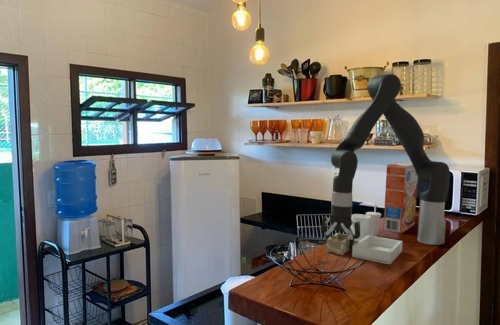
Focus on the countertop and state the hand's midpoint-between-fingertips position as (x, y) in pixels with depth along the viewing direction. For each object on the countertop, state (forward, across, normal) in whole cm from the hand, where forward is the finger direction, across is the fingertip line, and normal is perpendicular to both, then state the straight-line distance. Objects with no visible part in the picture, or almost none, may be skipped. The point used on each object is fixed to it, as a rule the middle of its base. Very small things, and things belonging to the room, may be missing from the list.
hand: (339, 246), depth 146 cm
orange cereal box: (+1, +10, +53) cm, 54 cm away
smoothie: (+1, +4, +29) cm, 29 cm away
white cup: (+1, +2, +18) cm, 19 cm away
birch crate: (+1, 0, 0) cm, 1 cm away
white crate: (+1, +13, +4) cm, 14 cm away
